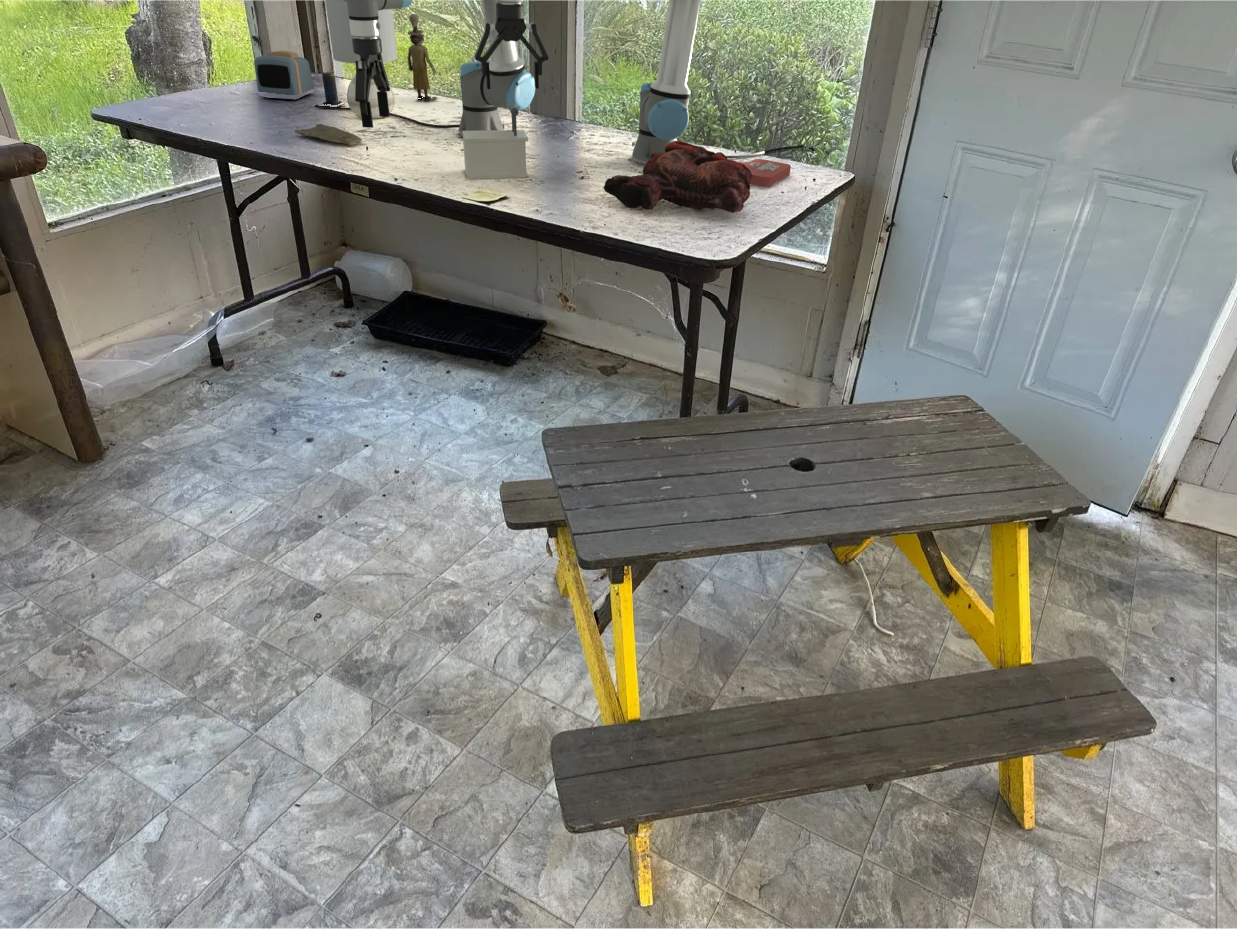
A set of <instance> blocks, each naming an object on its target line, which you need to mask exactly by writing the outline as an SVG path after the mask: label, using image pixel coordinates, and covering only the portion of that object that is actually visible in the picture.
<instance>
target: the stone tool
mask: <svg viewBox="0 0 1237 929" xmlns="http://www.w3.org/2000/svg"><path fill="white" fill-rule="evenodd" d="M294 133H296V134H298V135H300V136H306V137H309V138H317V139H320V140H321V141H327V142H332V143H338V144H342V145H348V146H354V145H356V144H359V143H361V142H362V141H363V139H362V137H358V135H355V134H354V133H351V132H349V131H347V130H343V129H339V128H338V127H336V126H329V125H326V124H323V123H317V124H315V126H314V127H310V128H307V129H306V128H305V129H303V128H301V129H295V130H294Z"/></svg>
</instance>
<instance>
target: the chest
mask: <svg viewBox="0 0 1237 929" xmlns="http://www.w3.org/2000/svg"><path fill="white" fill-rule="evenodd" d="M526 144H527V143H526V141H518V142H470V143H465V140H464V137H463V138H462V145H463V159H464V171H465V175H466V178H467V180H481V179H483V180H484V179H513V178H514V179H516V178H517V179H518V178H527V150H526V148H527V147H526V146H527V145H526Z"/></svg>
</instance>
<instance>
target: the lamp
mask: <svg viewBox="0 0 1237 929" xmlns="http://www.w3.org/2000/svg"><path fill="white" fill-rule="evenodd" d="M324 3H325V9H326V18H327V23H328V30H329V37H330V45H331V51H332V58H333V60H334V61H336V62H341V63H348V64H355V61H360V55H359V54H355V53H354V52H353V45H352V38H354V36H352V35H351V31H350V23H349V14H348V7H347V2H345V1H344V0H324ZM378 17H379V24H381V27H380V36H378V37H379V38H380V39H381V43H382V53H381V54H382V60H383V63H390V62H393V61H396V60H397V59H398V50H397V40H396V31H395V21H394V13H393V9H386V10H378ZM355 86H356V74H354V76H353V77H352V79H351V80H350V82H349V84H348V87H347V92H346V101H347V104H348V107H349V108H350V109H351V110H350V111H351V112H352V113H354V115H356V116H358V117H360V118H361V111H360V103H359V102H356V101H355ZM389 87H390V91H386V92H387V96H388V105H389V113H392V111H393V110H394V107H395V103H396V102H395V95H394V91H393V89H392V87H391V85H390V84H389ZM377 92H378V89H377V87H376V85H375V82H374V80H373V79H371V84H370V92H369V100H368V102H370V105H371V113H372V120H375V119H382V118H383V117H381V116H380V115H379V107H378V98H377ZM379 92H380V91H379Z"/></svg>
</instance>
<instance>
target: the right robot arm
mask: <svg viewBox="0 0 1237 929" xmlns="http://www.w3.org/2000/svg"><path fill="white" fill-rule="evenodd" d="M496 1H498V3H497V4H496V23H495V24H491V23H488V22H486V23H485V22H484V31H483V34H482V37H481V39H480V41H479V44H478V46H477V49H476V51H475V53H476V54H475V59H476V61H480V62H481V64H482V74H483V76H486V82H487V89H490V72H489V63H488V62H487V60H490V58H491V55H492V53H493V52H494V51H495V49H496V48H497V46H498V45H499V44H500V43H501V41H502V40H504V41H506V42H509V41H514V42H519V41H521V43H522V44H523V45H524V46H525V47H526V48H527V50H528V51H529V52H530V54H531V55H532V56H533V58H534V59H535V60H536V61H533V63H534V64H533V65H534V66H533V70H534V71H533V72H534V73H533V74H534V80H535V90H536V89H538V90H539V89H540V84H539V81H540V80H539V77H540V76H542V75H543V62H545V61H548V60H549V55H548V53H547V51H546V49H545V47H544V44H543V43H542V40H541V38H540V37H539V34H538V30H537V24H536V23H535V22H534V21H532V22H530V23H526V22H525V5H524V4H523V2H524V1H525V0H496ZM701 2H702V0H668V6H667V12H666V19H665V24H664V31H663V39H662V44H661V51H660V57H659V62H658V63H659V64H658V69H657V70H658V71H657V75H656V76H657V77H656V80H654V81H653V82H644V83H642V84H641V85H640V91H639V96H640V98H639V120H638V135H637V138H636V140H635V141H633V142H632V143H631V147H633V150H632V154H631V161H632V162H633V163H634V164H635V165H638V166H643V167H645V165H646V163H647V162H648V160H650V159H651V158H650V157H651V155H652V154H653V153H657V152H658V153H660V152H664V153H665V147H666V146H667V145H668V144H669V143H671V142H673V141H677V140H678V139H677V138H679V137H680V136H682V135H683V134H684V132H685V131H686V130H687V128H688V126H689V122H690V121H689V120H690V118H689V117H690V115H689V114H690V113H689V110H688V109H689V102H690V97H691V90H690V89H689V87H688V85H687V82H688V78H689V72H690V65H691V60H692V54H693V49H694V43H695V37H696V32H697V26H698V21H699V20H698V19H699V15H700V8H701ZM493 29H496V31H497V32H498V33H499V34H498V35H497V37H496V38H495V40H494V41H493V43H492V44H491V46H490V47H489V46H488V48H487V49H486V51H485V52H484V49H485V47H486V45H487V42H488V37H489V34H490V32H492V31H493ZM527 30H528V32H529V33H531V35H532V36H533V39H534V41H535V44H536V45H537V47H538V49H539V51H540V54H541V55H539V54H538V53H537V51H536V50H535V48H534V47H533V46H532V45H531V44H530V42H529V41H528V40H527V38H526V36H524V33H525V32H526V31H527ZM483 52H484V54H483ZM482 54H483V55H482ZM803 145H804V144H800V145H799V144H798V145H793V146H782V147H776V148H771V149H766V150H763V151H758V152H754V153H749V154H741V155H739V154H738V155H725V156H726V158H727V159H741V158H742V159H743V158H750V157H754V156H759V155H765V154H768V153H772V152H777V151H782V150H794V149H800V148H805V147H804V146H803ZM809 149H810V150H811V151H812V152H816V149H815V148H814V147H812V148H809Z"/></svg>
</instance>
